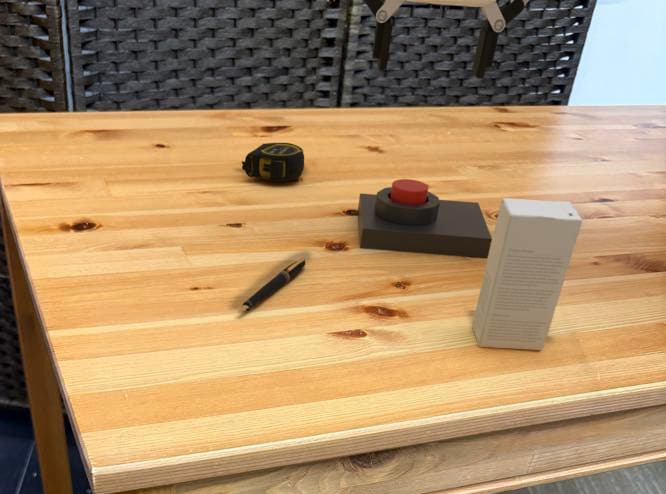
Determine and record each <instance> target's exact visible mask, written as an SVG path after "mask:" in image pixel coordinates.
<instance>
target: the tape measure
mask: <svg viewBox="0 0 666 494" xmlns="http://www.w3.org/2000/svg"><path fill="white" fill-rule="evenodd" d="M241 164H242V166H241V169H242V170H243V171H244V172H245V174H246V176H247V177H248V178H260V179H262V180H265V181H269V182H279V183H280V182H285V183H287V182H289V181H290V182H291V181H294V180H296V179H299V178H300V177H301V176H302V174H303V172H304V169H305V154H304V149H303V148H302V147H301V146H299V145H297V144H293V143H290V142H269V143H268V142H267V143H262V144H261V145H259V146H258V147H257V148H254V149H253V150H251V151H250V152H248V153H247V154H246V156H245V159H244V161H243V160H242V161H241Z"/></svg>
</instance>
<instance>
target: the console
mask: <svg viewBox="0 0 666 494" xmlns="http://www.w3.org/2000/svg"><path fill="white" fill-rule="evenodd" d="M391 188H392V186H390V187H383V189H380V190H378V191H377V192H376V194H371V193H362V192H361V193H359V196H358V197H359V198H358V204H357V205H358V206H357V222H358V237H359V248H360V249H366V250H376V251H389V252H402V253H414V254H428V255H441V256H453V257H463V258H464V257H466V258H475V259H478V258H479V259H488V256H489V252H490V247H491V243H492V239H493V237H492V235H491V232H490V230H489V227H488V225H487V222H486V219H485V217H484V214H483V211H482V209H481V206H480V204H479V202H473V201H461V200H460V201H459V200H448V199H439V197H438V196H437V195H436V194H434V193H432V192H431V191H428V193H427V198H426V203H425V204H421V205H408V204H401V203H398V202H394V201H393V200H391V199H390V194H391Z"/></svg>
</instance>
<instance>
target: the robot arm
mask: <svg viewBox="0 0 666 494" xmlns="http://www.w3.org/2000/svg"><path fill="white" fill-rule="evenodd" d="M363 1H364V2H365V4H366V6H367V8H368V9H369V10H370V12H371V13H372V14H373V16H374V17H375V19H376V22H375V30H374V38H373V43H372V53H371V58H372V60H373V59H376V60H377V62H376V67H377V68H378V71H379V72H384V71H385V70H387V69H388V61H389V55H390V48H391V41H392V34H393V28H394V27H393V22H392V16H393V14H394V13H396V12H397V10H398V9H399V8H400V7H401V6H402V5H403V3H404V2H405V1H407V2H411V3H420V4H421V3H422V4H432V5H447V6H458V7H471V8H472V7H473V8H480V9H481V12H482V13H483V16H484V18H485V22H484V25H482V27H480V28H479V33H478V39H477V43H476V48H475V53H474V58H473V63H472V67H471V71H472V73H473V74H474V76H475V77H476V78H477V79H479V80H480V79H481V80H482V79H484V78H485V74H486V69H487V68H488V69H490V68H492V66H493V62H494V59H495V58H494V57H495V53H496V49H497V44H498V41H499V36H500V33H501V32H502V31H503V30H504V29H505V28H506V26H507V25H509V23H510V22H512V21H513V20H514V19H515V18H517V17H518V16H519V15H520V14H521V13H522V12H523V11H524V9H525V6H526V5H527V3H528V2H529V1H530V0H507V1H506V2H505V3H504V4H503V5H502V6H500V7H499V5H498V3H497V0H363Z"/></svg>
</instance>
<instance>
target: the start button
mask: <svg viewBox="0 0 666 494" xmlns="http://www.w3.org/2000/svg"><path fill="white" fill-rule="evenodd" d="M391 187H392V188H391V194H390V199H391V200H393V201H394V202H398V203H401V204H408V205H421V204H425V203H426V198H427V193H428V192H429V191H428V190H429V186H428V184H426V182H423V181H420V180H416V179H410V178H401V179H396V180H394V181H393V182H392V183H391Z"/></svg>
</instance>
